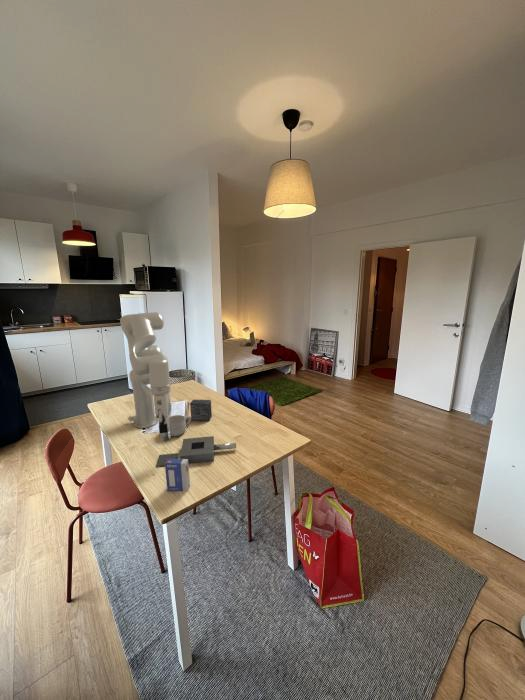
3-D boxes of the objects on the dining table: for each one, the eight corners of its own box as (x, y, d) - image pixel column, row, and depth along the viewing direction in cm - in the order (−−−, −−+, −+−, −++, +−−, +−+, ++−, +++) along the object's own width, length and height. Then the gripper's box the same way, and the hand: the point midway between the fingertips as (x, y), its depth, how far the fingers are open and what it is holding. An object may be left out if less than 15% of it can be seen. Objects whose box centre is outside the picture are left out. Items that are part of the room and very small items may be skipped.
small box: (212, 416, 166) (211, 399, 163) (209, 421, 160) (208, 404, 157) (194, 415, 167) (193, 398, 164) (190, 420, 161) (189, 403, 158)
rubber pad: (155, 467, 120) (155, 465, 120) (159, 456, 128) (159, 454, 128) (175, 465, 121) (175, 463, 121) (178, 454, 129) (177, 453, 129)
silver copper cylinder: (169, 440, 120) (167, 414, 118) (160, 441, 120) (157, 415, 117) (171, 435, 124) (168, 410, 122) (161, 436, 124) (159, 410, 121)
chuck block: (180, 464, 122) (179, 456, 121) (184, 446, 135) (183, 438, 134) (237, 458, 125) (237, 450, 125) (235, 441, 139) (234, 434, 138)
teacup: (166, 440, 140) (165, 425, 138) (163, 431, 150) (161, 416, 148) (194, 434, 146) (193, 419, 145) (189, 425, 156) (188, 411, 154)
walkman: (167, 491, 106) (164, 462, 103) (169, 486, 109) (167, 458, 106) (188, 491, 106) (186, 462, 103) (190, 486, 109) (188, 458, 106)
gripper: (167, 395, 110) (170, 439, 114) (173, 381, 126) (176, 420, 130) (146, 397, 108) (151, 441, 113) (155, 382, 125) (159, 421, 129)
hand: (164, 429), depth 121 cm, fingers closed on silver copper cylinder, 4 cm apart
